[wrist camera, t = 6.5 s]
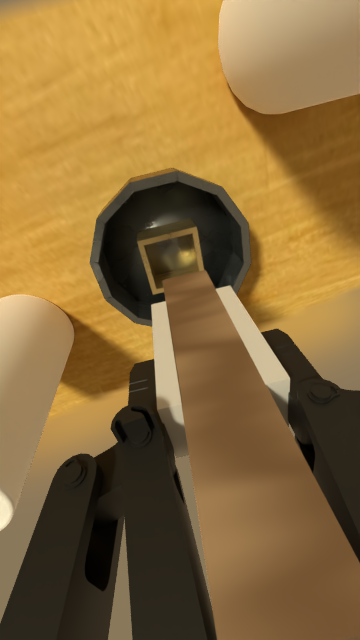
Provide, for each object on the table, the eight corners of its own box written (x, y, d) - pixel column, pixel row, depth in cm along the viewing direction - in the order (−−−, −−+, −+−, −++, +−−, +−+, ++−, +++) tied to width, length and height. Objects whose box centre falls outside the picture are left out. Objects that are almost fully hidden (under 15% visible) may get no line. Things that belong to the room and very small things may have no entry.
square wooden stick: (172, 316, 17) (237, 679, 5) (162, 280, 16) (221, 666, 4) (211, 307, 17) (363, 652, 5) (205, 269, 16) (393, 626, 4)
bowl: (124, 321, 28) (122, 342, 25) (73, 192, 21) (63, 199, 18) (241, 292, 27) (254, 309, 25) (229, 153, 21) (243, 153, 18)
